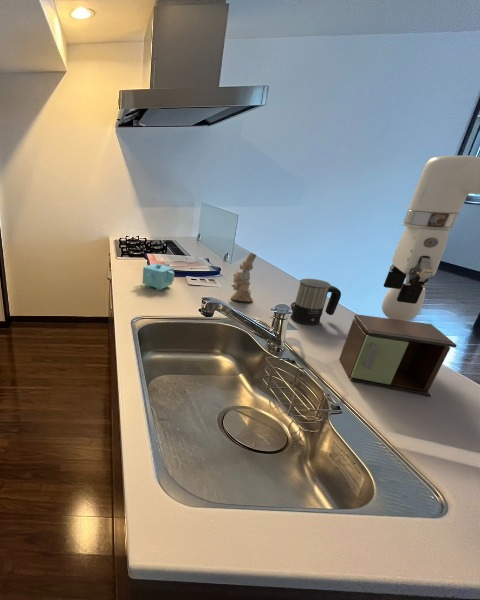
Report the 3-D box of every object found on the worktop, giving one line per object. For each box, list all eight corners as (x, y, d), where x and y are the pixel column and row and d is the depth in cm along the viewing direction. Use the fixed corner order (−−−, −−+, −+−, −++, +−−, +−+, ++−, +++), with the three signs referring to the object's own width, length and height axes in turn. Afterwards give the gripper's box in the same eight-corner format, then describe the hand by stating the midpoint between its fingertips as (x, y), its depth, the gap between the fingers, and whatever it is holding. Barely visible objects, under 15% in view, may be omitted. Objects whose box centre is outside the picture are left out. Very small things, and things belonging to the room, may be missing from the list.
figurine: (248, 296, 140) (257, 251, 132) (254, 303, 133) (264, 257, 125) (227, 295, 142) (234, 251, 134) (232, 302, 134) (240, 256, 126)
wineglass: (405, 359, 94) (435, 293, 85) (367, 351, 98) (392, 288, 90) (398, 346, 100) (425, 284, 92) (363, 339, 105) (386, 279, 97)
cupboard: (409, 371, 88) (431, 323, 83) (430, 397, 79) (457, 345, 73) (338, 359, 95) (354, 314, 89) (350, 381, 85) (369, 332, 79)
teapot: (133, 287, 153) (134, 264, 149) (155, 278, 164) (157, 257, 160) (161, 295, 143) (163, 271, 138) (182, 285, 154) (185, 263, 149)
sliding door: (388, 383, 82) (407, 340, 77) (395, 391, 79) (414, 348, 74) (350, 375, 85) (366, 334, 80) (355, 383, 82) (371, 341, 77)
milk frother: (304, 326, 113) (315, 288, 108) (271, 309, 128) (279, 273, 122) (337, 322, 116) (349, 284, 110) (301, 305, 130) (310, 270, 124)
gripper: (476, 228, 58) (436, 312, 65) (436, 215, 72) (406, 285, 79) (421, 225, 62) (388, 305, 68) (392, 213, 76) (368, 280, 82)
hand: (398, 294), depth 74 cm, fingers open, 9 cm apart
